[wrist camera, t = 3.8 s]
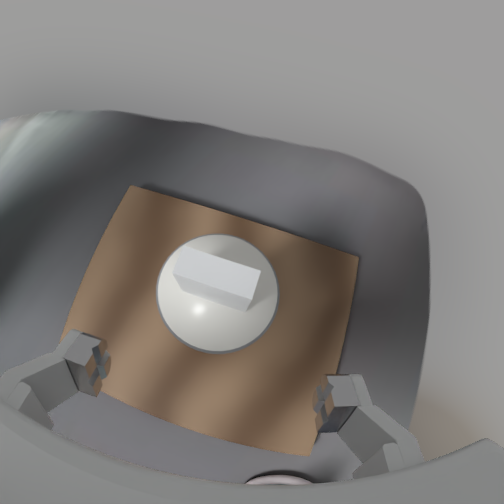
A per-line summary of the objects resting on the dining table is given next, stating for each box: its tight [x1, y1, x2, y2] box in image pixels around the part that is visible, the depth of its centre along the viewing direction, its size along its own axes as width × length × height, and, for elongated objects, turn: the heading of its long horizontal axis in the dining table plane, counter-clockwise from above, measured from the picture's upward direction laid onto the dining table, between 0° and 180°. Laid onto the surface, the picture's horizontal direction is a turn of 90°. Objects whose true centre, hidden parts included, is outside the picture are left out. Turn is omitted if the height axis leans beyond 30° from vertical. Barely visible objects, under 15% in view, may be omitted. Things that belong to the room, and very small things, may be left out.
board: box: [59, 185, 359, 456], centre depth 19 cm, size 20×16×1 cm
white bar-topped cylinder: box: [156, 234, 280, 354], centre depth 13 cm, size 5×5×11 cm
